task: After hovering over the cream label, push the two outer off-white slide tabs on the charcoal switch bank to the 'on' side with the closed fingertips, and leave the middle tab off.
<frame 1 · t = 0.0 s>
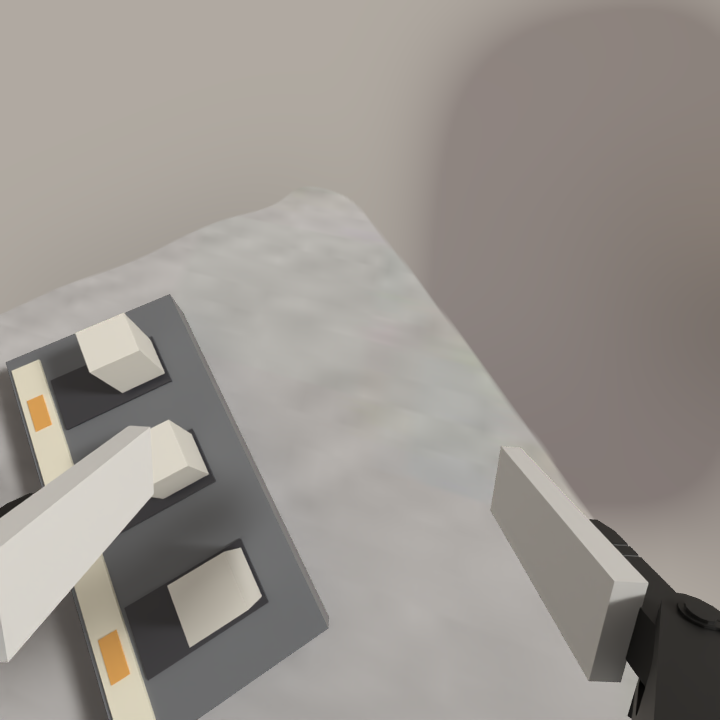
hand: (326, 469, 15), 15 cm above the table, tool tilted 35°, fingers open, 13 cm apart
tab 1: (218, 591, 21), point 6 cm above the table, slide at 0.0 cm
switch bank: (169, 486, 29), on the table
tab 3: (123, 354, 26), point 6 cm above the table, slide at 0.0 cm
tab 2: (166, 460, 24), point 6 cm above the table, slide at 0.0 cm
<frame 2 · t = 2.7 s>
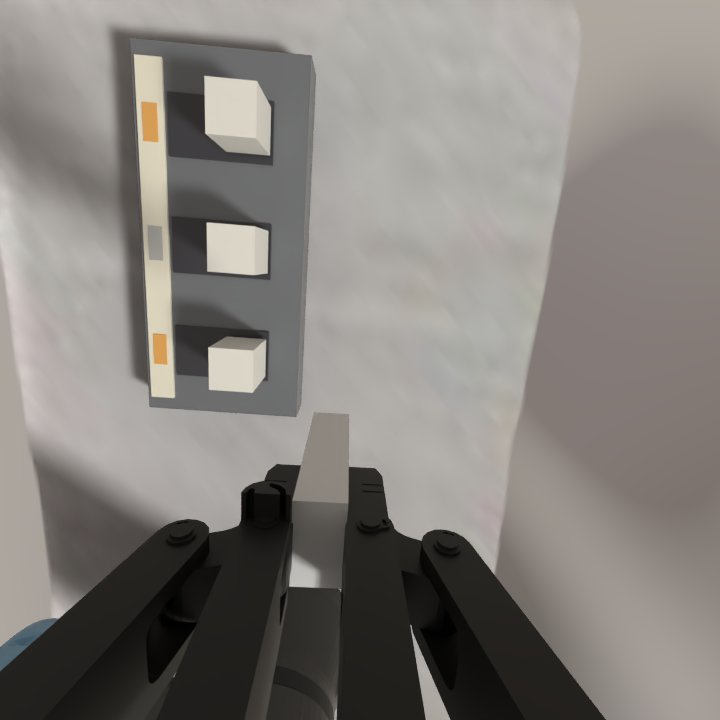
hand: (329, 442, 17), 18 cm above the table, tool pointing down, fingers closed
tab 1: (239, 363, 29), point 6 cm above the table, slide at 0.0 cm
switch bank: (234, 249, 32), on the table
tab 3: (240, 119, 25), point 6 cm above the table, slide at 0.0 cm
tab 2: (239, 250, 27), point 6 cm above the table, slide at 0.0 cm
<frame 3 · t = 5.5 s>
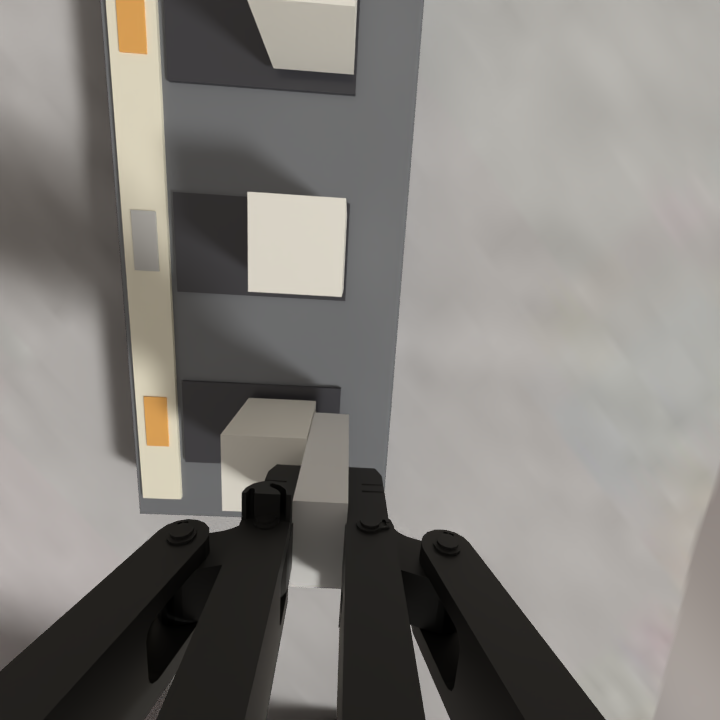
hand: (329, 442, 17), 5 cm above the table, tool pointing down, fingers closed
tab 1: (274, 450, 16), point 6 cm above the table, slide at 1.0 cm, touching gripper
switch bank: (275, 251, 20), on the table
tab 2: (303, 248, 14), point 6 cm above the table, slide at 0.0 cm
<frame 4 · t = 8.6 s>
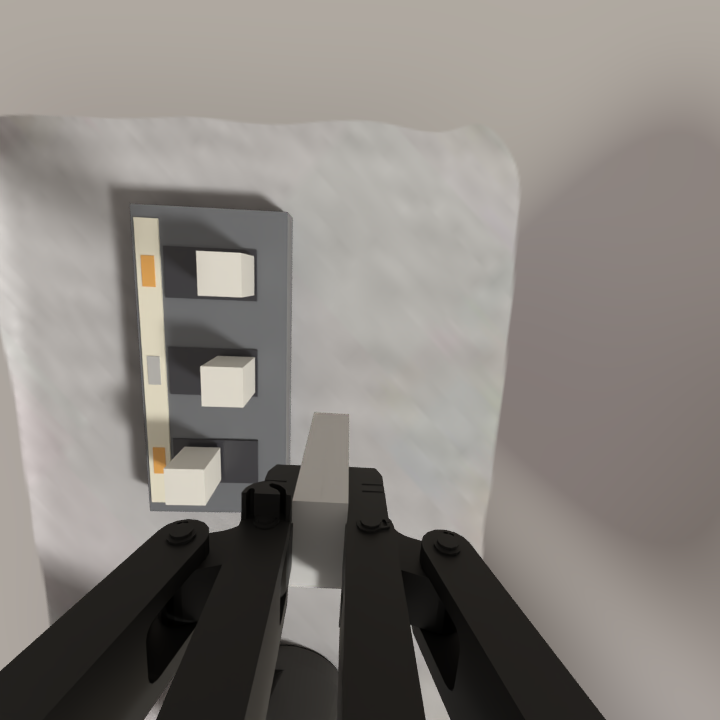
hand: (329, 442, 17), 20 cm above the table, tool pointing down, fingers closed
tab 1: (194, 474, 32), point 6 cm above the table, slide at 3.0 cm
switch bank: (224, 364, 36), on the table
tab 3: (227, 274, 29), point 6 cm above the table, slide at 0.0 cm
tab 2: (229, 380, 31), point 6 cm above the table, slide at 0.0 cm
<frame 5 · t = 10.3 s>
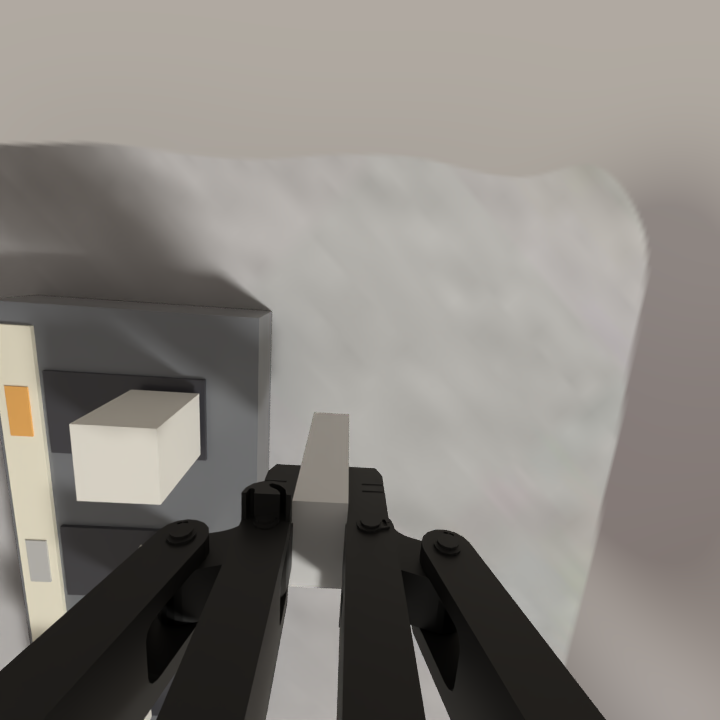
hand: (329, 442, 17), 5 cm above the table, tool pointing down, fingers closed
switch bank: (164, 524, 23), on the table
tab 3: (144, 441, 16), point 6 cm above the table, slide at 0.0 cm
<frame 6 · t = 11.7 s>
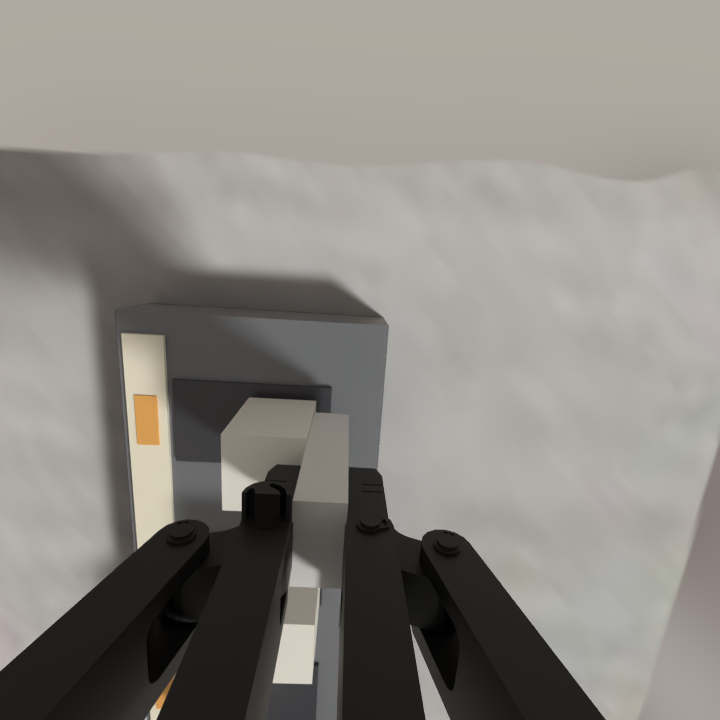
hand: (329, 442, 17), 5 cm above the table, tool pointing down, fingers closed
switch bank: (265, 530, 23), on the table
tab 3: (274, 449, 16), point 6 cm above the table, slide at 0.6 cm, touching gripper
tab 2: (284, 612, 18), point 6 cm above the table, slide at 0.0 cm
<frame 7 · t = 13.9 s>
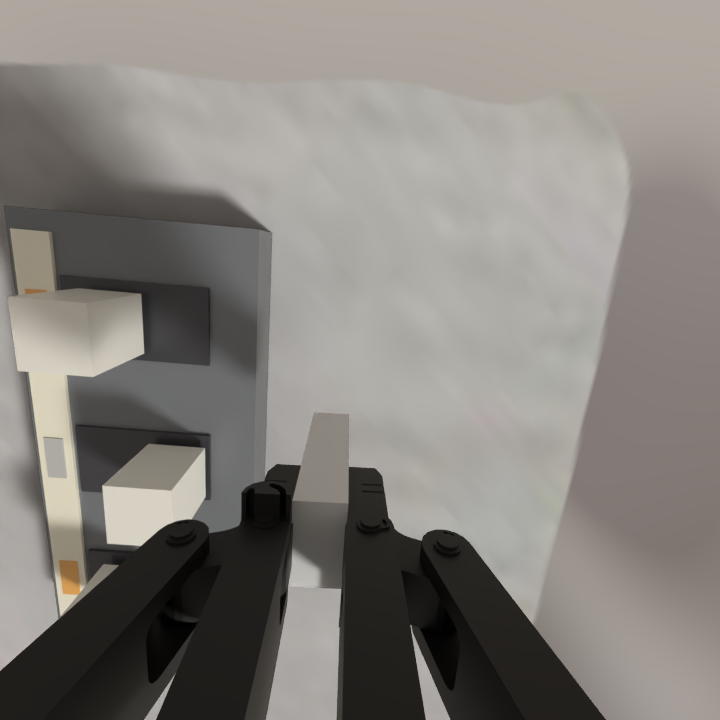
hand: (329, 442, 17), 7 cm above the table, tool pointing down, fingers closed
tab 1: (110, 616, 22), point 6 cm above the table, slide at 3.0 cm
switch bank: (170, 438, 25), on the table
tab 3: (85, 328, 18), point 6 cm above the table, slide at 3.0 cm
tab 2: (160, 491, 20), point 6 cm above the table, slide at 0.0 cm
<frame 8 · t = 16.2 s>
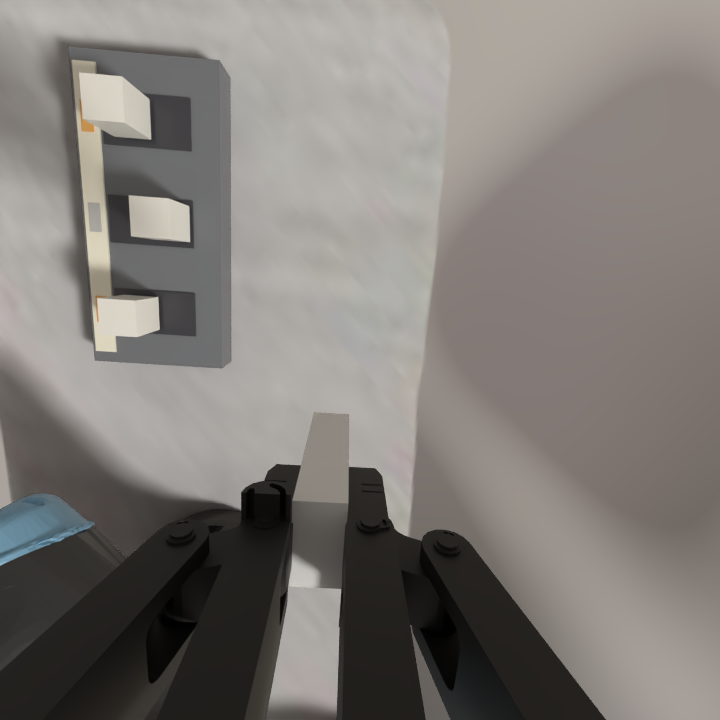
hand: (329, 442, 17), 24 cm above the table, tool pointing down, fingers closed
tab 1: (130, 314, 34), point 6 cm above the table, slide at 3.0 cm
switch bank: (167, 225, 38), on the table
tab 3: (117, 108, 31), point 6 cm above the table, slide at 3.0 cm
tab 2: (161, 220, 32), point 6 cm above the table, slide at 0.0 cm
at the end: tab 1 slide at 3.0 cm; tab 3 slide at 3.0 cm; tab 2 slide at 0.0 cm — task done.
